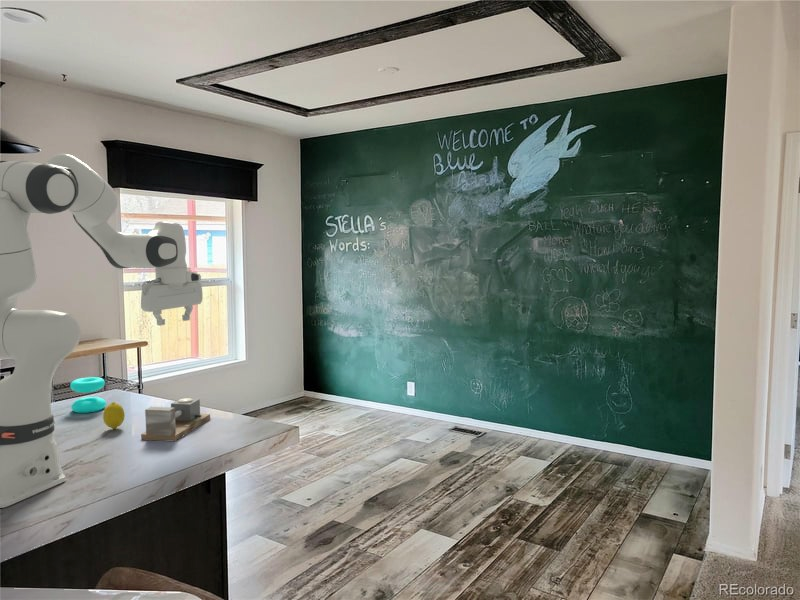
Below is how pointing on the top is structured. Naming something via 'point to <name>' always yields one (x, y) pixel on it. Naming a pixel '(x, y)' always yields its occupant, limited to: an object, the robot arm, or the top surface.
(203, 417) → the bench
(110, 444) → the top surface
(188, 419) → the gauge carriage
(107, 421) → the lemon
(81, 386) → the donuts
